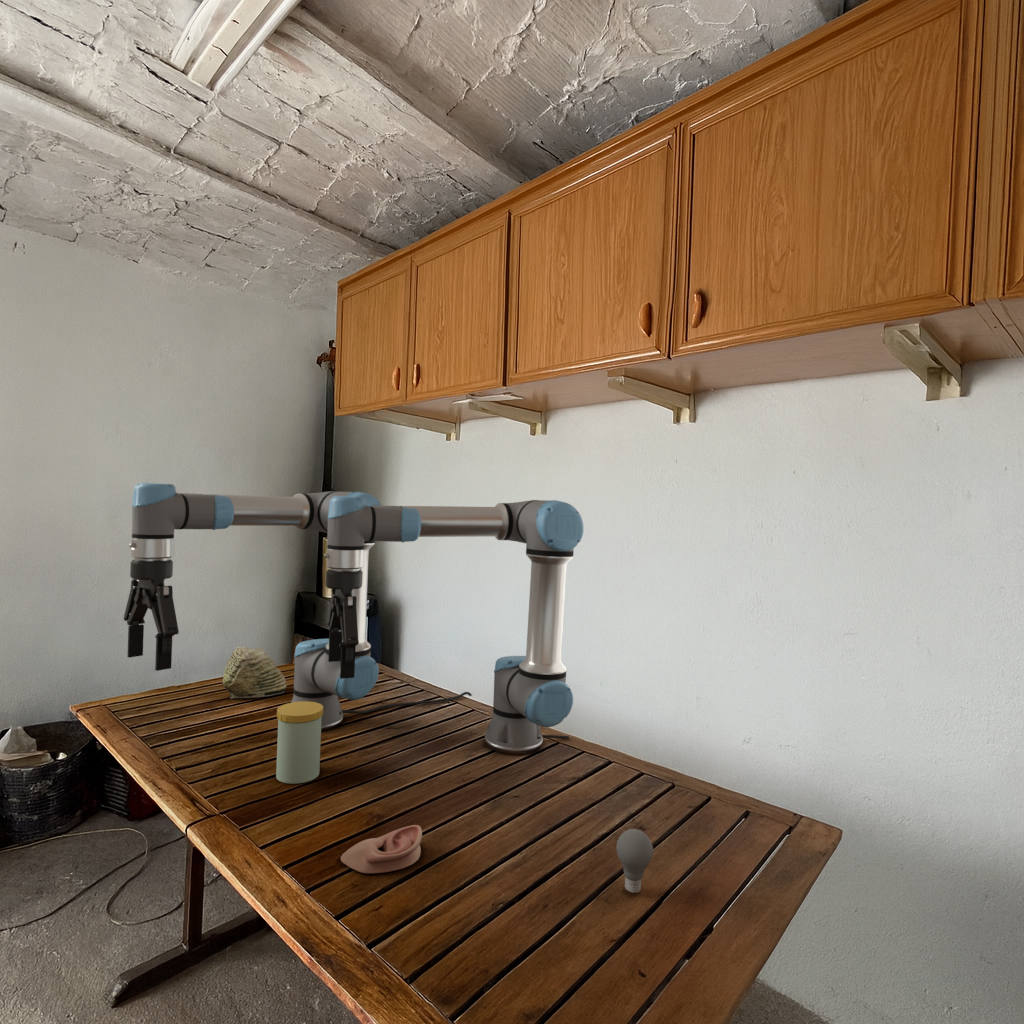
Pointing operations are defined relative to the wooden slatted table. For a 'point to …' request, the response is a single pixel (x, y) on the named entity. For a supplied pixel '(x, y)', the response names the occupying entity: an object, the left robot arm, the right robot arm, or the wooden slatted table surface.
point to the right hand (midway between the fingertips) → (340, 669)
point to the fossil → (252, 674)
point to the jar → (298, 751)
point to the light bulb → (634, 857)
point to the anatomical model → (385, 851)
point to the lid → (300, 712)
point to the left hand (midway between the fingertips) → (148, 662)
